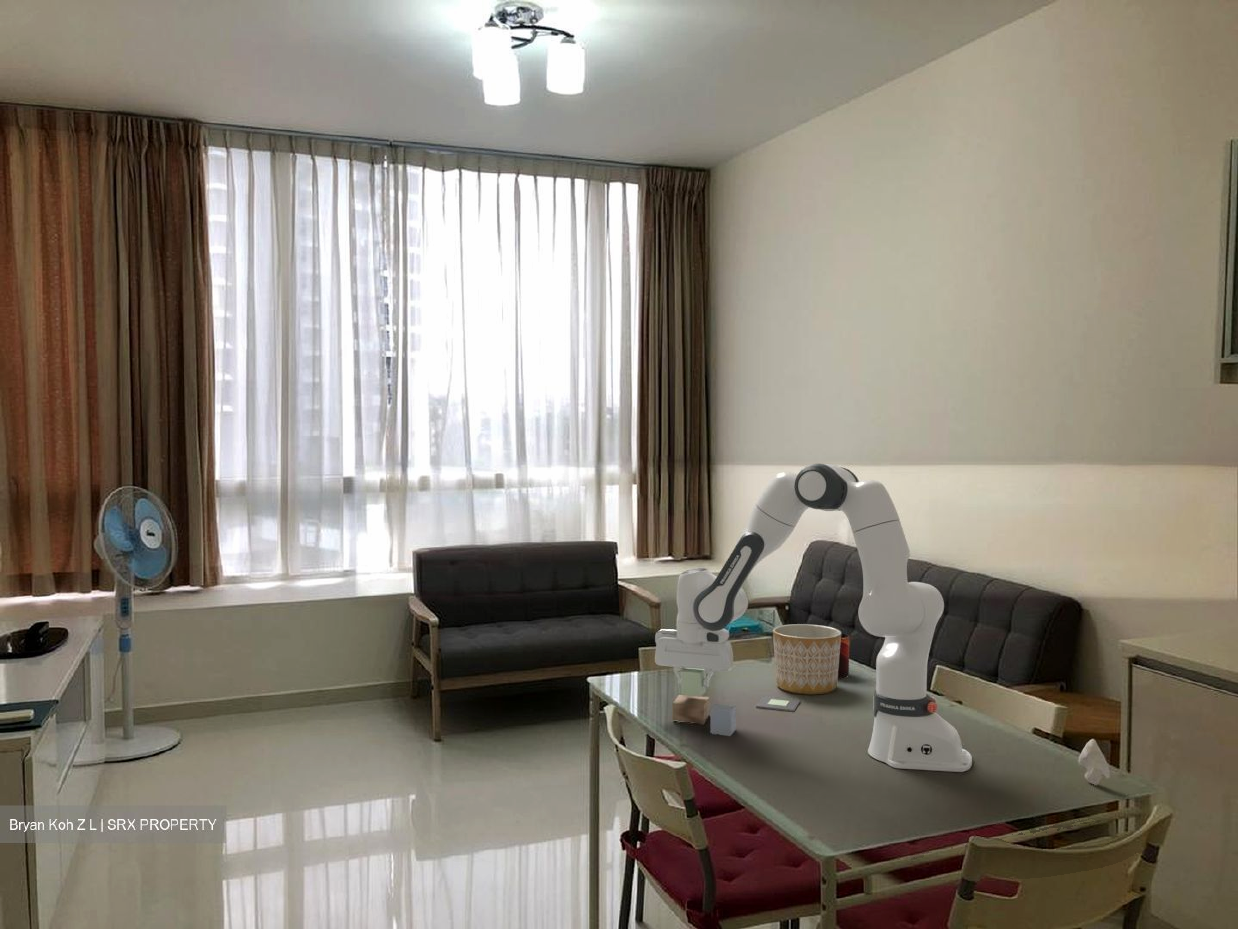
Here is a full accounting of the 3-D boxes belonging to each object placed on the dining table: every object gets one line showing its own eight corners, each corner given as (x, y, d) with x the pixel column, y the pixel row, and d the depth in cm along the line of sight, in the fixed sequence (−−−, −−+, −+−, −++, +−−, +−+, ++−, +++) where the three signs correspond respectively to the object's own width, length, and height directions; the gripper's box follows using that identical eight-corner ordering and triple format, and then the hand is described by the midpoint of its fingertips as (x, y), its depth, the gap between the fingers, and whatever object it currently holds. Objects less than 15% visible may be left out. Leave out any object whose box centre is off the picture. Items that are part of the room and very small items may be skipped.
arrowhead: (1073, 779, 204) (1074, 733, 203) (1082, 778, 205) (1083, 731, 204) (1104, 793, 196) (1105, 744, 196) (1114, 791, 197) (1115, 743, 197)
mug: (837, 667, 301) (837, 629, 300) (853, 678, 287) (854, 638, 286) (807, 668, 299) (807, 629, 299) (822, 679, 286) (823, 639, 285)
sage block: (705, 691, 248) (705, 668, 248) (700, 696, 243) (700, 673, 243) (687, 689, 250) (687, 666, 249) (681, 694, 245) (681, 671, 245)
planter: (767, 679, 286) (768, 624, 285) (832, 679, 286) (833, 624, 285) (778, 697, 267) (778, 638, 266) (847, 697, 266) (848, 638, 266)
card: (800, 701, 262) (800, 699, 262) (793, 711, 252) (793, 709, 252) (764, 698, 265) (764, 695, 265) (756, 707, 256) (756, 705, 256)
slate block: (735, 730, 237) (735, 706, 237) (730, 736, 232) (730, 711, 232) (715, 728, 239) (716, 704, 239) (710, 734, 234) (710, 709, 234)
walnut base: (709, 716, 249) (709, 697, 249) (703, 725, 242) (703, 705, 241) (678, 713, 251) (678, 694, 251) (672, 722, 244) (672, 703, 243)
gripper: (651, 630, 247) (651, 684, 247) (728, 637, 239) (728, 692, 240) (659, 626, 253) (659, 678, 253) (735, 632, 245) (734, 685, 246)
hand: (693, 685), depth 246 cm, fingers closed on sage block, 5 cm apart
